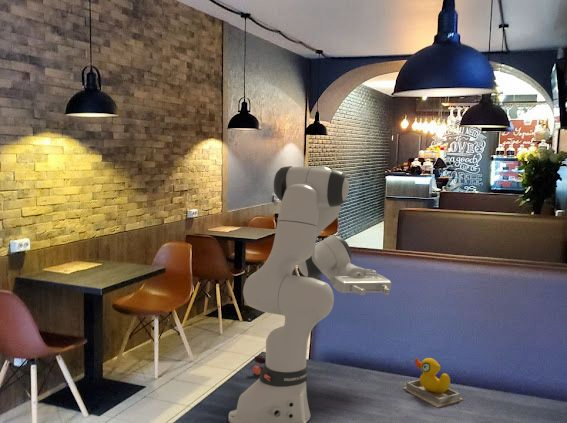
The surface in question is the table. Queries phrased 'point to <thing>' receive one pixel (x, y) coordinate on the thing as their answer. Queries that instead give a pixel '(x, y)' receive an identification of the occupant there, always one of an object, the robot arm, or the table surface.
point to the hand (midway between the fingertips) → (375, 292)
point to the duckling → (432, 376)
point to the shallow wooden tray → (432, 394)
